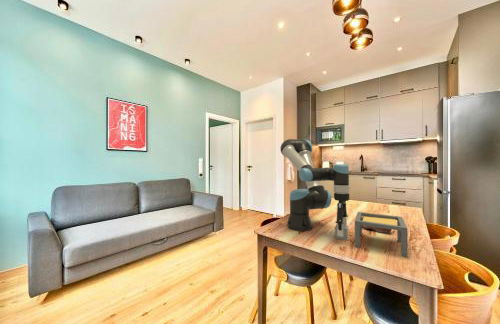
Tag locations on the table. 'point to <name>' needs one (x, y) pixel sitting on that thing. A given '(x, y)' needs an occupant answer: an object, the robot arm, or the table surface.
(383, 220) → the hatch
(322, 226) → the table surface
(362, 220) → the rock
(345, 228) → the grey cube
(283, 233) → the table surface
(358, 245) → the frame
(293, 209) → the robot arm
